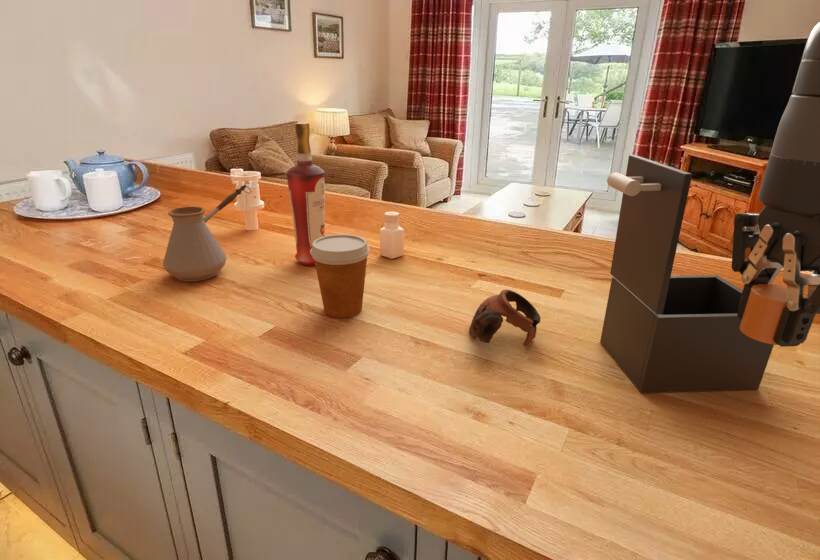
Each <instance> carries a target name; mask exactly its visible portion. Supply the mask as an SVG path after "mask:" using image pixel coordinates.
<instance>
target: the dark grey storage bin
mask: <svg viewBox="0 0 820 560" xmlns="http://www.w3.org/2000/svg"><path fill="white" fill-rule="evenodd" d="M742 292H743V289H741V288H739V287H738V286H736V285H735V284H733V283H731V282H730V281H728V280H727V279H725V278H723V277H722V276H720V275H717V274H705V275H703V274H701V275H671V277H670V282H669V287H668V291H667V296H666V301H665V305H664V310H663V314H656V313H654V312H653V311H652V310H651V309H650V308H649V307H648V306H647V305H645V304H644V303H643V302H642V301H641V300H640V299H639V298H637V297H636V296H635V295H634V294H633V293H632V292H631V291H629V290H628V289H627V288H626V287H625V286H624V285H623V284H621V283H620V282H619V281H618V280H617V279H616V278H615V277H613V276H611V281H610V286H609V291H608V297H607V302H606V307H605V313H604V319H603V324H602V329H601V336H600V341H599V344H601V346H602V347H603V348H604V350H605V351H606V352H607V354H608V355H609V356H610V357H611V358H612V359H613V361H614V362H615V363H616V365H617V366H618V367H619V368H620V369H621V370H622V372H623V373H624V374H625V375H626V377H627V378H628V379H629V380H630V382H631V383H632V384H633V386H635V388H636V389H637V390H638V391H639V392H640V393H641V394H658V393H660V394H661V393H691V392H692V393H693V392H694V393H695V392H696V393H697V392H726V391H727V392H728V391H729V392H730V391H731V392H732V391H758V390H759V389H760V386H761V383H762V380H763V378H764V374H765V371H766V368H767V366H768V363H769V360H770V357H771V354H772V351H773V348H774V346H775V345H773V344H767V343H763V342H760V341H757V340H754V339H752V338H750V337H748V336H746V335H745V334H743V333H742V332H741V330H740V324H741V321H742V320H741V319H740V318H739V317H738V316H737V315H738V305H739V302H740V298H741V295H742Z"/></svg>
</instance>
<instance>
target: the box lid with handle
mask: <svg viewBox="0 0 820 560" xmlns="http://www.w3.org/2000/svg"><path fill="white" fill-rule="evenodd" d="M625 172H626V173H625V175H624V174H622V173H620V172H618V171H617V172H616V171H614V172H612V173H610V174H609V175H608V176H607V179H606V184H607V185H608V186H609V187H611V188H612V189H614V190H617V191H618V192H621V193H622V198H621V202H620V203H621V204H620V209H619V215H618V222H617V228H616V234H615V241H614V246H613V247H614V248H613V254H612V259H611V266H610V272H609V274H610V275H611V277H615V278H616V279H617V280H618V281H619V282H620V283H621V284H623V285H624V286H625V287H626V288H627V289H628V290H629V291H631V292H632V293H633V294H634V295H635V296H636V297H637V298H639V299H640V300H641V301H642V302H643V303H644V304H645V305H647V306H648V307H649V308H650V309H651V310H652V311H653V312H654V313H656V314H663V310H664V305H665V301H666V296H667V291H668V287H669V282H670V277H671V276H672V272H673V268H674V263H675V259H676V253H677V249H678V245H679V244H678V243H679V240H680V234H681V230H682V225H683V220H684V215H685V211H686V205H687V202H688V196H689V191H690V187H691V182H692V177H693V173H691V172H689V171H685V170H682V169H679V168H676V167H672V166H670V165H667V164H664V163H661V162H658V161H655V160H651V159H648V158H645V157H643V156H639V155H637V154H629V155H628V159H627V166H626V171H625Z"/></svg>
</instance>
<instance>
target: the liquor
mask: <svg viewBox="0 0 820 560" xmlns="http://www.w3.org/2000/svg"><path fill="white" fill-rule="evenodd" d="M294 130H295V136H296V141H297V142H296V155H297V156H296V165H294V166H292V167H290V168H289V169H288V170H287V171H286V180H287V187H288V195H289V202H290V203H289V204H290V208H291V215H292V223H293V224H292V225H293V230H294V239H295V248H296V253H295V254H294V255H295V256H294V258H295V259H296V260H297V261H298V262H299V263H301V264H302V265H304V266H315V262H314V259H313V257H312V255H311V254H310V250H311V248H312V245H313V242H314V241H315V240H316V239H318V238H321V237H324V236H326V187H325V186H326V185H325V184H326V181H325V177H326V176H325V170H324V169H323V168H321V167H320V166H318V165H316V164H314V163H313V156H312V150H311V143H310V136H311V135H310V134H311V131H310V130H311V129H310V122H295V123H294Z"/></svg>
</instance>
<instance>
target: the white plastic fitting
mask: <svg viewBox="0 0 820 560" xmlns="http://www.w3.org/2000/svg"><path fill="white" fill-rule="evenodd" d="M229 172H230V176H229V177H230V181H231V185H235V190H236V189H240V187H241V186H243V185H246V186H247V187H249V188H250V189H251V193H249V192H250V189H249V188H247V187H246V188H245V189H244V190H245V191H246V192H248V193H246V192H245V191H244V190H243V191H241V194H238V195H237V196H236V202H234V203H233V205H234V206H233V207H234V209H235V210H236V211H238V212H243V217H244V224H245V230H246V231H257V230H259V222H258V214H257V213H258V211H260V210H262V209H265V201H263V200H261V194H260V186H259V185H260V184H259V180H261V179H262V175H261V174H262V173H261V172H260V171H254V170H246V171H245V170H244V168H231V169H230V171H229ZM245 182H248V184H246V183H245Z"/></svg>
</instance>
